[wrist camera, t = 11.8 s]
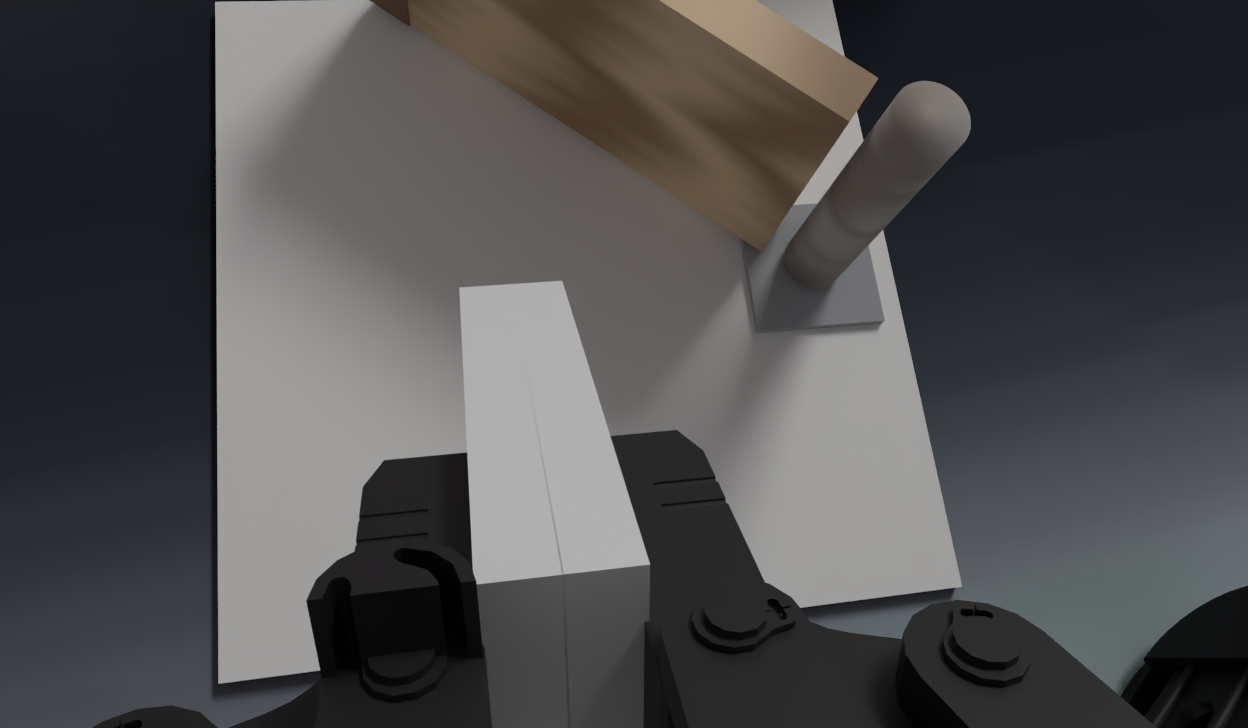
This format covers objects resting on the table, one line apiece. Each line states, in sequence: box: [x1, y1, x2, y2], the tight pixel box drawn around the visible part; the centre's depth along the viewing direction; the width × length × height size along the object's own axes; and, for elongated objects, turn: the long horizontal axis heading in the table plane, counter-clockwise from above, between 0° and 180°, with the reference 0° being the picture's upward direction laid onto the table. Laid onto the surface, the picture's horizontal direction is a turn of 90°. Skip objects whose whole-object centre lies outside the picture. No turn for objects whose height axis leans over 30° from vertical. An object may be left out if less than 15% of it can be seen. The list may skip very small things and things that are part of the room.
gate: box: [370, 0, 971, 288], centre depth 27 cm, size 19×2×9 cm, turn 57°
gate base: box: [215, 0, 962, 684], centre depth 30 cm, size 22×22×1 cm
